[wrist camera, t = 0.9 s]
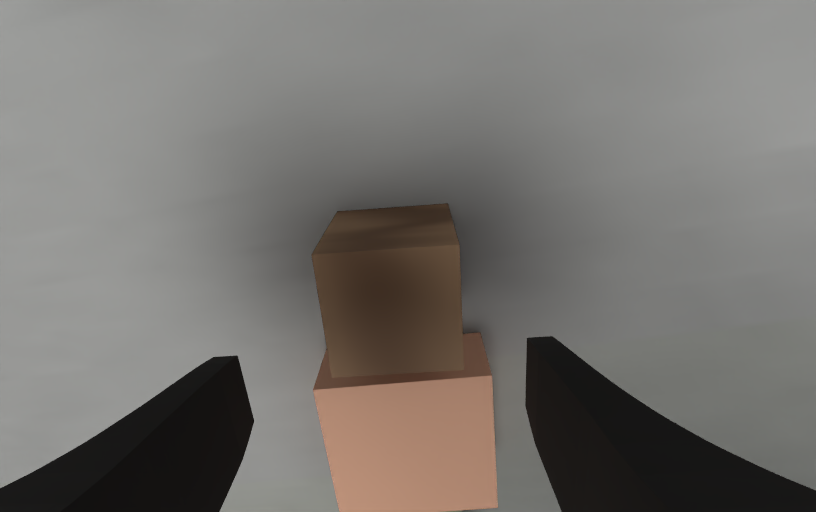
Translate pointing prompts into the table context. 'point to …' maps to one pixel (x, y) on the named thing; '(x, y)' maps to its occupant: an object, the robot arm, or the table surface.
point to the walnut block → (391, 291)
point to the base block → (411, 437)
